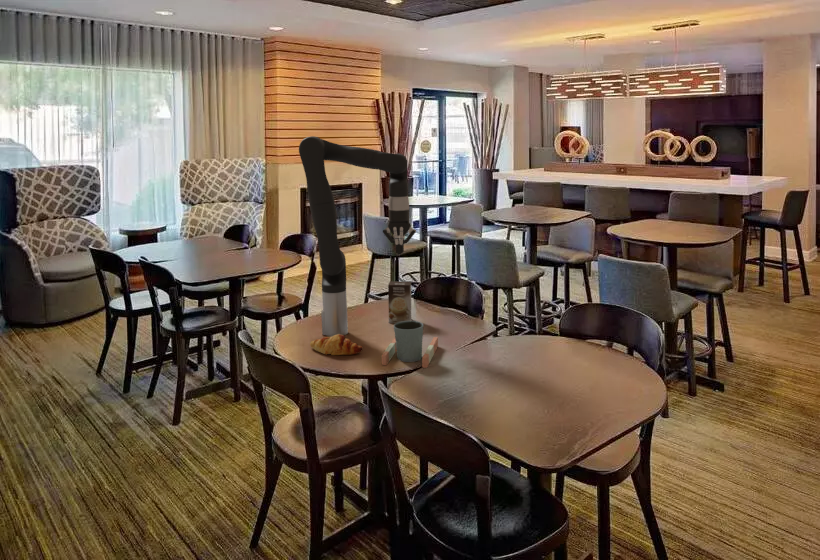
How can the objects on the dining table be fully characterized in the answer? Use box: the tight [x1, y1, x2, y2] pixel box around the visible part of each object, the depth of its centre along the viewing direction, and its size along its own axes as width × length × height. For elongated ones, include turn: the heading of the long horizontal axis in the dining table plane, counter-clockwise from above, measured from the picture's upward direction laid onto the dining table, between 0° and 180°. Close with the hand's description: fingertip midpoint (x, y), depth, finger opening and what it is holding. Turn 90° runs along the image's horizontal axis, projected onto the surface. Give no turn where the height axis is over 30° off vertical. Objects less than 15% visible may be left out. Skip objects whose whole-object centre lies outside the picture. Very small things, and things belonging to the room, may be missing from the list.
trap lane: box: [381, 336, 439, 369], centre depth 235 cm, size 15×22×4 cm
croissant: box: [309, 334, 363, 356], centre depth 240 cm, size 21×10×8 cm
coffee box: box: [387, 281, 412, 324], centre depth 274 cm, size 9×6×16 cm
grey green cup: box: [393, 320, 424, 363], centre depth 231 cm, size 10×10×12 cm
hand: (399, 254), depth 254 cm, fingers closed
